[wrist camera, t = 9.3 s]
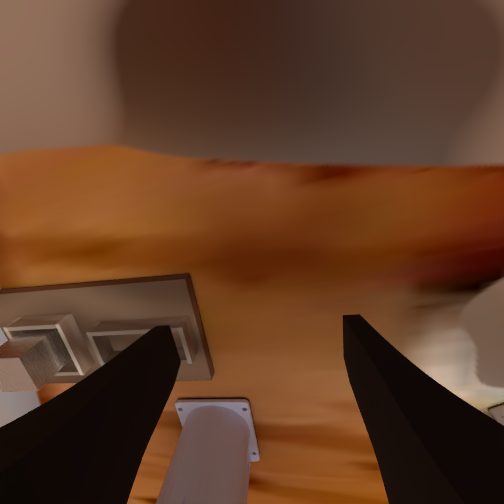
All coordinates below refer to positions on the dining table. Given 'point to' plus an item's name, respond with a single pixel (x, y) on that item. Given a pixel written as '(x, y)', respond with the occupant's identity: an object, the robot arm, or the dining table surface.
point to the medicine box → (498, 413)
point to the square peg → (31, 359)
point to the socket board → (111, 320)
